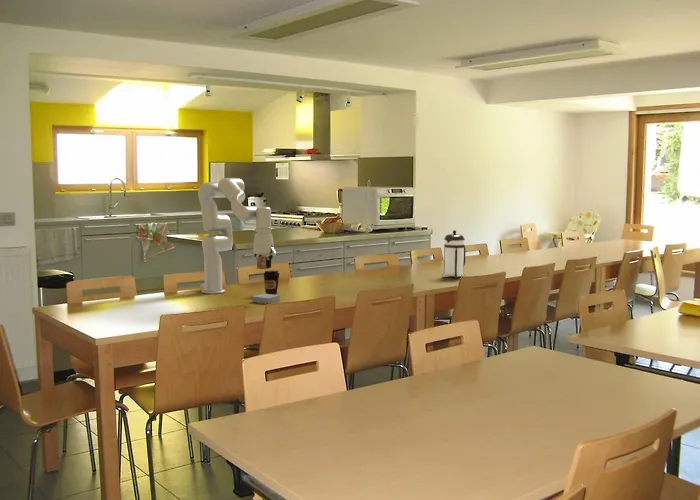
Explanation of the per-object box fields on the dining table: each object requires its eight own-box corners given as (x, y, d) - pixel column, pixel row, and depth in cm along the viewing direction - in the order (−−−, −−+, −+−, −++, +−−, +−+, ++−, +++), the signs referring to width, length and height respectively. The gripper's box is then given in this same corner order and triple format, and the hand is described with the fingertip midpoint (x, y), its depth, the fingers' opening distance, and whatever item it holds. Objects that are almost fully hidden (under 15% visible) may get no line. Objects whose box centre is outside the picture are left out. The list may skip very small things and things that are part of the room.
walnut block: (257, 268, 361) (256, 256, 361) (263, 267, 366) (263, 255, 365) (264, 269, 359) (264, 257, 358) (271, 268, 363) (270, 256, 362)
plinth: (252, 302, 363) (252, 296, 362) (264, 299, 371) (264, 293, 371) (268, 304, 358) (268, 298, 357) (279, 301, 366) (279, 295, 366)
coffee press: (468, 279, 448) (470, 231, 444) (443, 278, 448) (444, 231, 445) (464, 275, 465) (465, 229, 462) (440, 275, 465) (441, 228, 462)
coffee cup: (276, 296, 380) (276, 272, 378) (261, 295, 381) (261, 271, 380) (281, 293, 388) (281, 270, 387) (266, 293, 390) (266, 269, 388)
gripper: (245, 231, 362) (246, 267, 363) (272, 232, 353) (273, 269, 355) (255, 230, 368) (255, 265, 370) (281, 231, 359) (282, 267, 361)
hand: (264, 266), depth 362 cm, fingers closed on walnut block, 5 cm apart
